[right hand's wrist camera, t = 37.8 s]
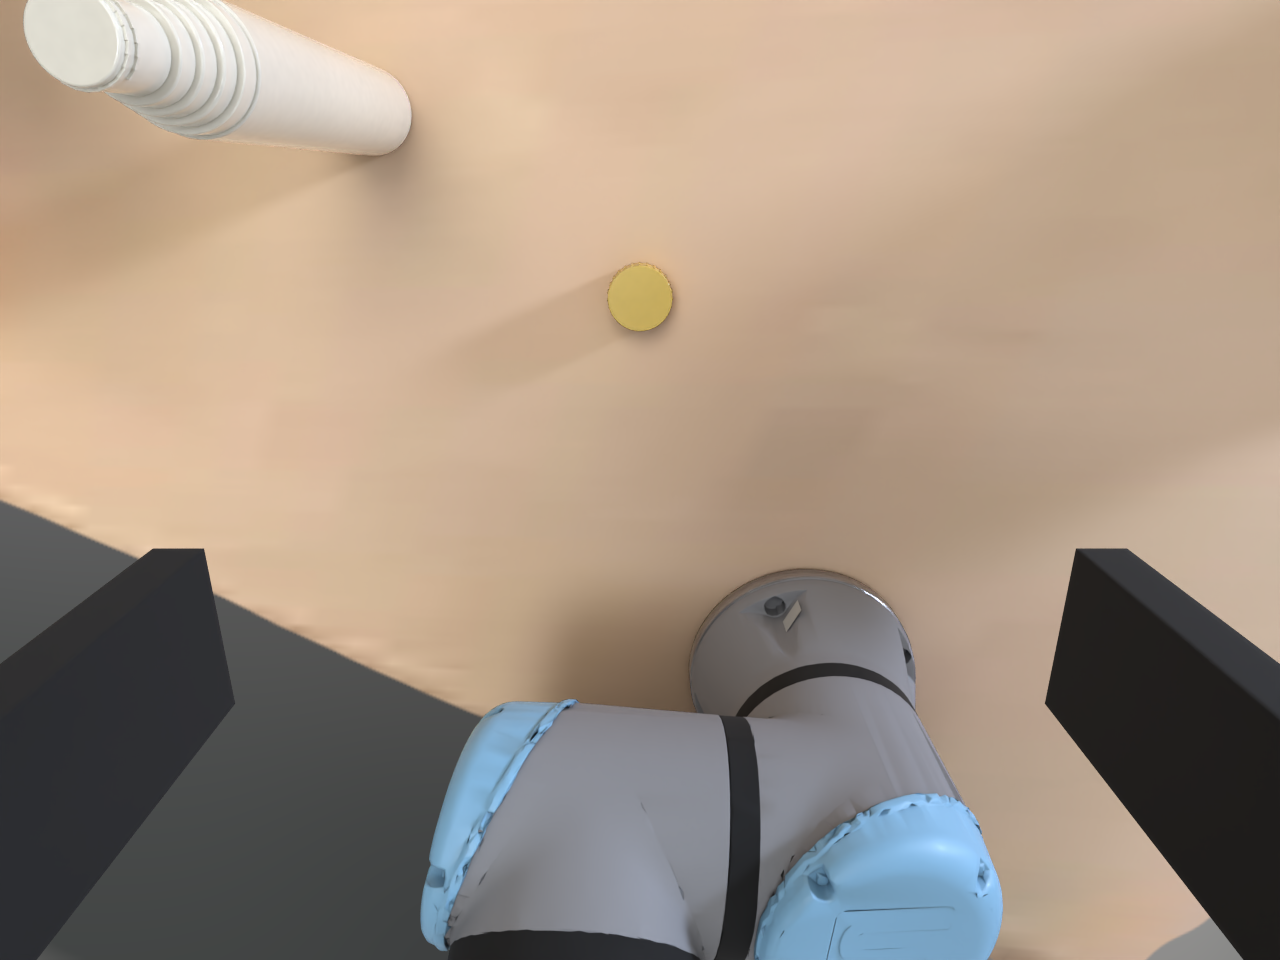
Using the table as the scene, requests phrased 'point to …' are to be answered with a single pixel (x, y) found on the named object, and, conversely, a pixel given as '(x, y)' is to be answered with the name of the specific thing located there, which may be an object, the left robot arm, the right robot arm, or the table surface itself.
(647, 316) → the cap
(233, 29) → the bottle
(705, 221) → the table surface
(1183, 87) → the table surface
